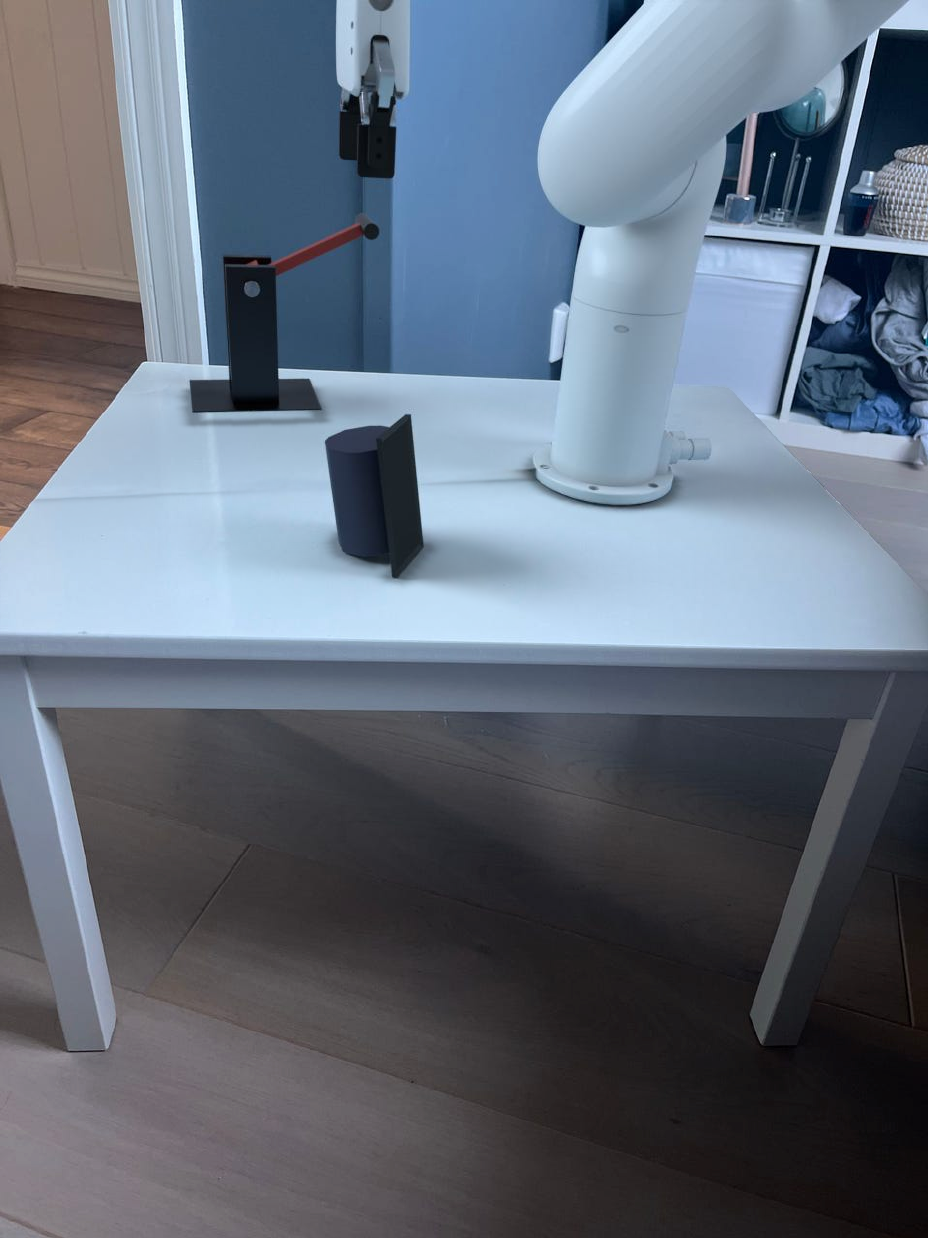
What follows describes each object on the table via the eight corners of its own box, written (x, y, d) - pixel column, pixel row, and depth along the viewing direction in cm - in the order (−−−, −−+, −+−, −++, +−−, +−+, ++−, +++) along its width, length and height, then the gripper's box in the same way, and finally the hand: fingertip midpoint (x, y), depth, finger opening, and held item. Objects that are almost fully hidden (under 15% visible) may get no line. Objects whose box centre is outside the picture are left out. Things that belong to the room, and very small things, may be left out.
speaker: (448, 550, 73) (441, 416, 68) (395, 579, 69) (384, 440, 64) (375, 525, 77) (363, 397, 72) (322, 552, 73) (305, 419, 68)
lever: (374, 229, 93) (363, 205, 91) (383, 240, 89) (373, 215, 87) (239, 292, 93) (227, 268, 91) (243, 306, 89) (231, 281, 87)
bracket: (309, 389, 101) (308, 251, 94) (321, 420, 94) (320, 273, 87) (190, 391, 98) (179, 248, 91) (193, 423, 91) (181, 271, 84)
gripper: (442, -62, 73) (427, 186, 82) (395, -55, 86) (387, 156, 96) (342, -73, 71) (338, 182, 80) (310, -65, 85) (310, 151, 94)
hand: (365, 167), depth 88 cm, fingers open, 9 cm apart
